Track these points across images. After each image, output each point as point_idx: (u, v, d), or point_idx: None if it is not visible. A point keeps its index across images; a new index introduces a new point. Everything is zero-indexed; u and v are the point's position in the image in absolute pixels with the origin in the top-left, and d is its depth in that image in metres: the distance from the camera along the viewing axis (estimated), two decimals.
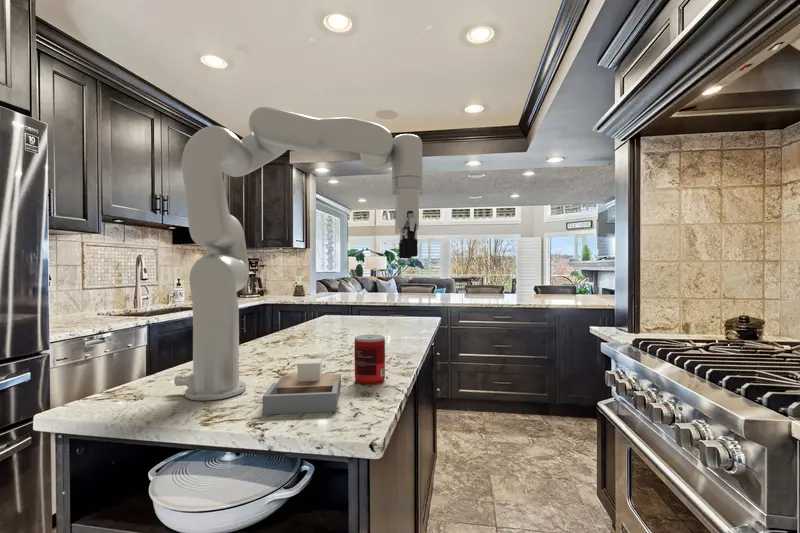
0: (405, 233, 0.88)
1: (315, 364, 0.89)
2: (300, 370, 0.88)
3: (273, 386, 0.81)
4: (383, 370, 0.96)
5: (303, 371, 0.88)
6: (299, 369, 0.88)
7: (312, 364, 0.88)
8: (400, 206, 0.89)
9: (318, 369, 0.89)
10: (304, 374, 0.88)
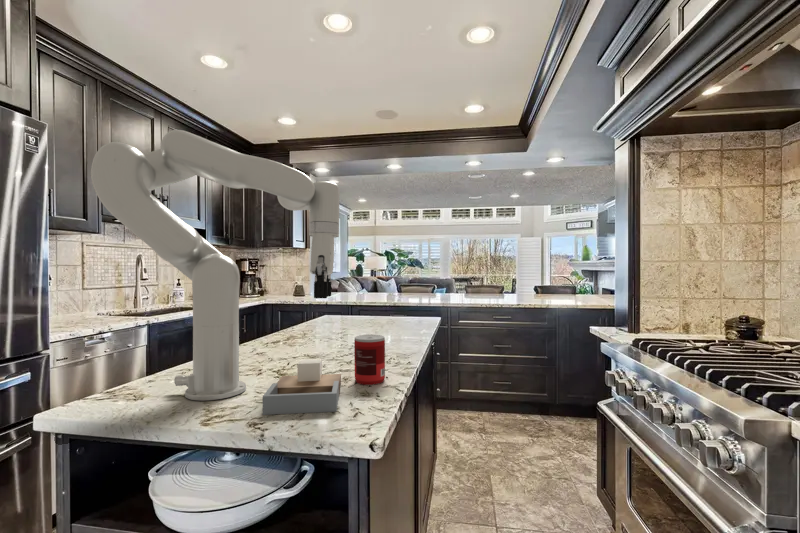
0: (315, 276, 0.93)
1: (315, 364, 0.89)
2: (300, 370, 0.88)
3: (273, 386, 0.81)
4: (383, 370, 0.96)
5: (303, 371, 0.88)
6: (299, 369, 0.88)
7: (312, 364, 0.88)
8: (312, 250, 0.95)
9: (318, 369, 0.89)
10: (304, 374, 0.88)
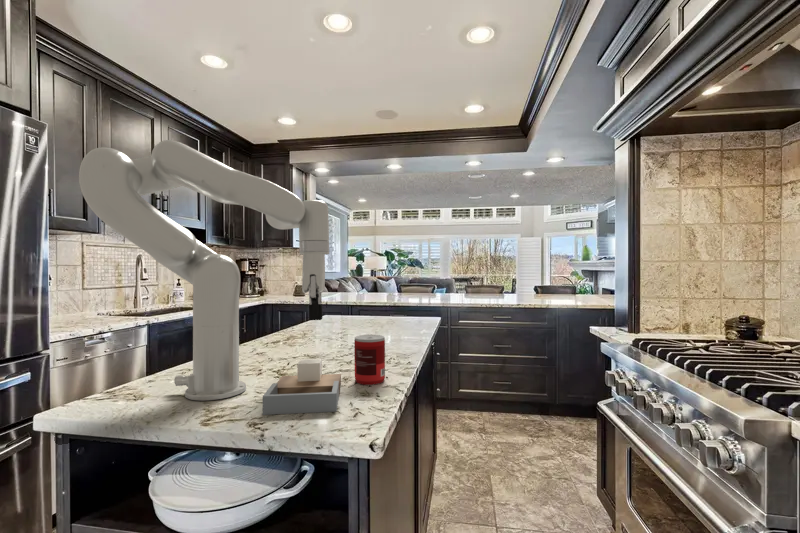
0: (309, 302, 0.98)
1: (315, 364, 0.89)
2: (300, 370, 0.88)
3: (273, 386, 0.81)
4: (383, 370, 0.96)
5: (303, 371, 0.88)
6: (299, 369, 0.88)
7: (312, 364, 0.88)
8: (303, 270, 0.95)
9: (318, 369, 0.89)
10: (304, 374, 0.88)
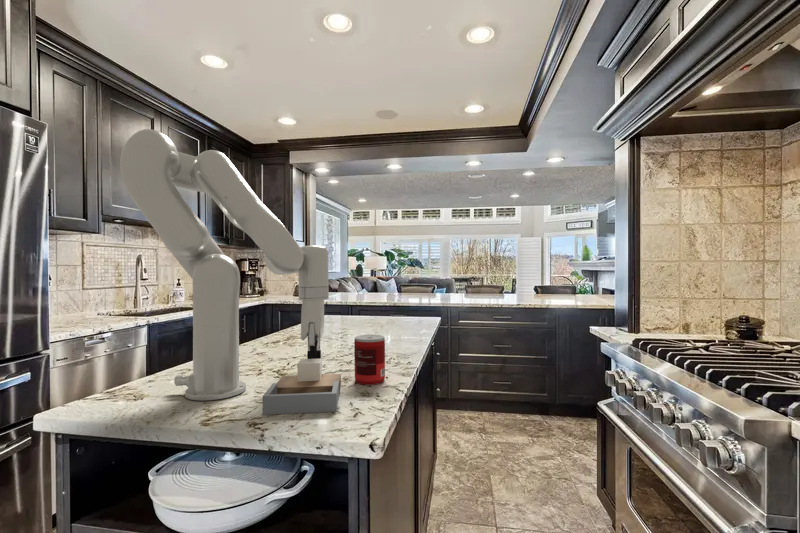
0: (308, 348, 0.97)
1: (315, 364, 0.89)
2: (300, 370, 0.88)
3: (273, 386, 0.81)
4: (383, 370, 0.96)
5: (303, 371, 0.88)
6: (299, 369, 0.88)
7: (312, 364, 0.88)
8: (302, 318, 0.94)
9: (318, 369, 0.89)
10: (304, 374, 0.88)
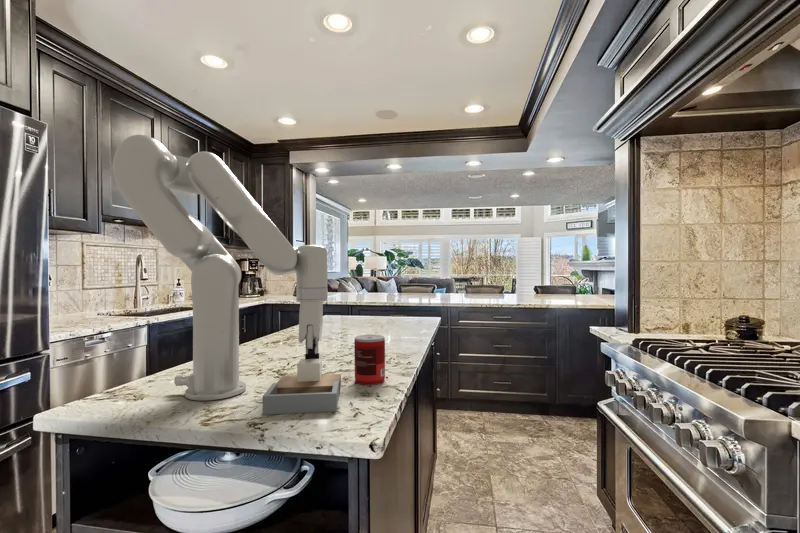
0: (306, 352, 0.93)
1: (315, 364, 0.88)
2: (300, 370, 0.88)
3: (273, 386, 0.81)
4: (383, 370, 0.96)
5: (302, 372, 0.88)
6: (299, 369, 0.88)
7: (312, 364, 0.88)
8: (300, 320, 0.91)
9: (318, 369, 0.88)
10: (304, 375, 0.88)
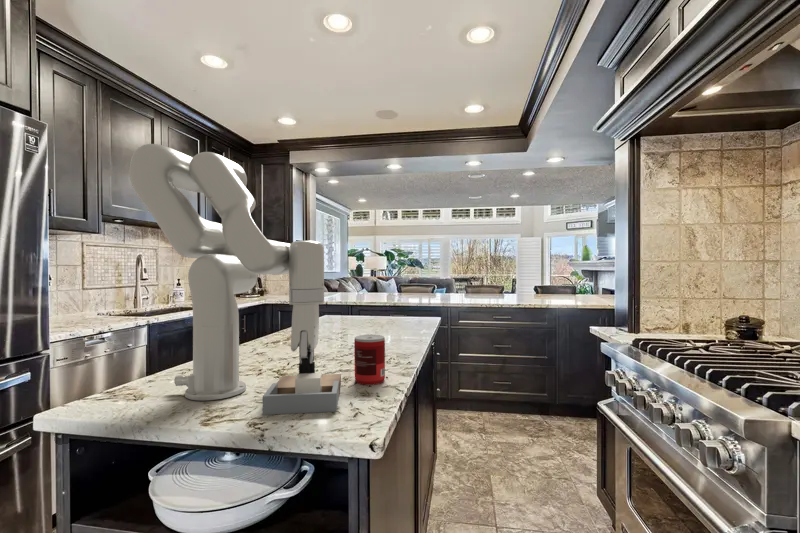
0: (299, 361, 0.83)
1: None
2: None
3: (273, 386, 0.81)
4: (383, 370, 0.96)
5: None
6: None
7: None
8: (292, 325, 0.80)
9: None
10: None
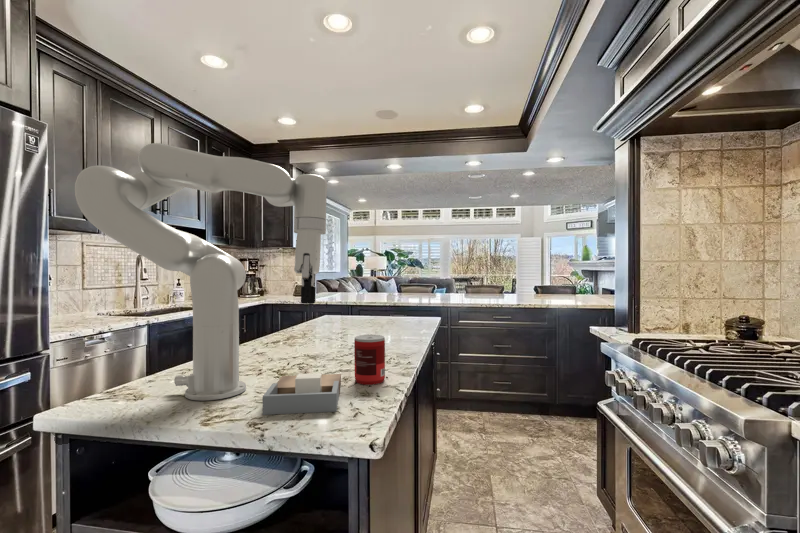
0: (302, 283, 0.91)
1: None
2: None
3: (273, 386, 0.81)
4: (383, 370, 0.96)
5: None
6: None
7: None
8: (296, 248, 0.88)
9: None
10: None
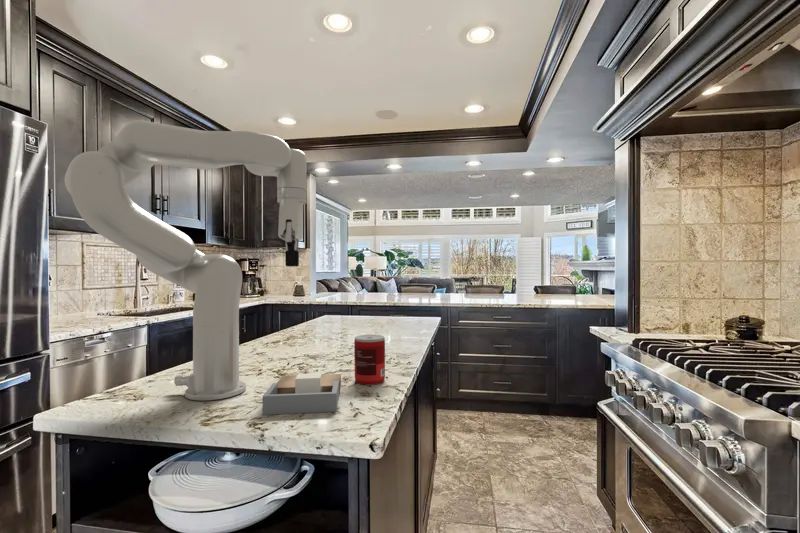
0: (286, 247, 1.01)
1: None
2: None
3: (273, 386, 0.81)
4: (383, 370, 0.96)
5: None
6: None
7: None
8: (280, 215, 0.98)
9: None
10: None
